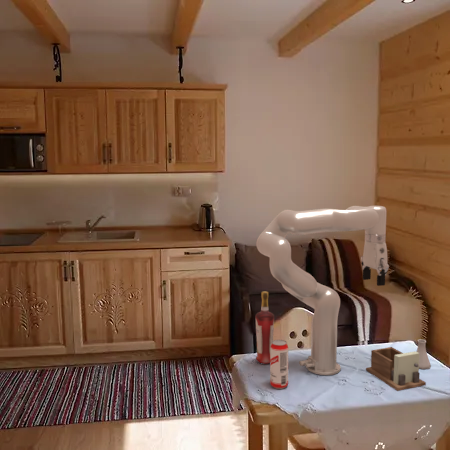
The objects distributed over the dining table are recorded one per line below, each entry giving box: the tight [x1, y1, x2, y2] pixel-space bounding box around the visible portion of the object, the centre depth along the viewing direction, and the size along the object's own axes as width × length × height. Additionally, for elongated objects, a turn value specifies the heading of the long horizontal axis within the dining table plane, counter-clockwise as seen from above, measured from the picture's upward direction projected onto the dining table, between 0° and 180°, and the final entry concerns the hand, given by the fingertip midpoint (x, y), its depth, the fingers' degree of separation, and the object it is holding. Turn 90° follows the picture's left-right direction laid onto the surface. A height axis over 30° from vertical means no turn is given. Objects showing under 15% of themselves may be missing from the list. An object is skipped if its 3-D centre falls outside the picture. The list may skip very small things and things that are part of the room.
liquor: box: [254, 291, 275, 365], centre depth 198 cm, size 7×7×28 cm
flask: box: [415, 338, 432, 370], centre depth 194 cm, size 7×7×10 cm
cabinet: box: [365, 346, 427, 392], centre depth 184 cm, size 12×18×8 cm, turn 20°
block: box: [393, 350, 420, 384], centre depth 178 cm, size 9×3×10 cm, turn 110°
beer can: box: [269, 339, 289, 390], centre depth 178 cm, size 6×6×16 cm
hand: (373, 282), depth 196 cm, fingers open, 9 cm apart
